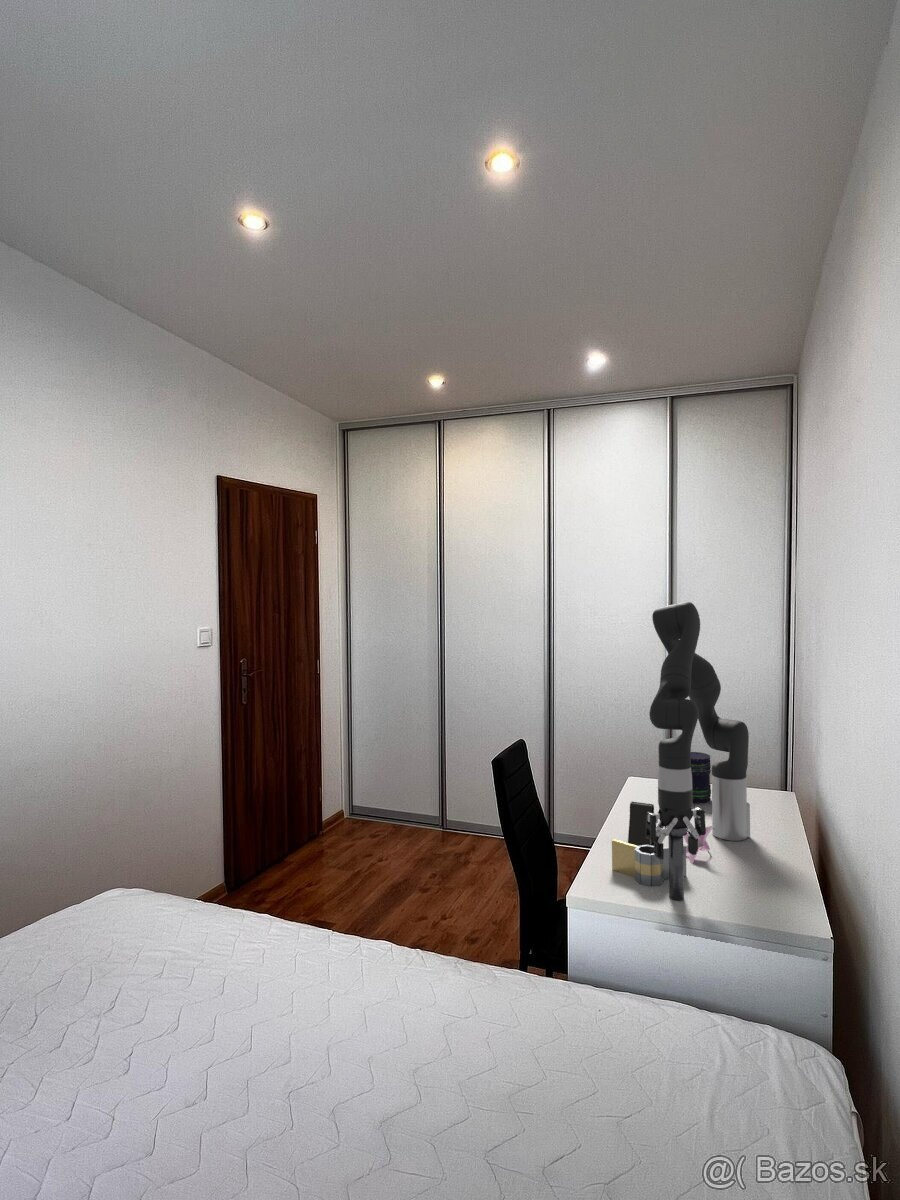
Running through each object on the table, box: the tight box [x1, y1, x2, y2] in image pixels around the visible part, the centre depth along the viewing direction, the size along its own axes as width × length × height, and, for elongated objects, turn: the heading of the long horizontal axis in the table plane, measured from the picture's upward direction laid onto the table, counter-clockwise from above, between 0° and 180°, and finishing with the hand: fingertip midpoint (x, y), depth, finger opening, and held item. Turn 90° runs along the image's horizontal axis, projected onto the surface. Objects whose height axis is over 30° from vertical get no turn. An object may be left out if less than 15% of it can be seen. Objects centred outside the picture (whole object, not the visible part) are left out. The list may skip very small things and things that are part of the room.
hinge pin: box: [668, 827, 687, 902], centre depth 155 cm, size 5×5×16 cm
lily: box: [683, 825, 713, 864], centre depth 178 cm, size 11×11×9 cm
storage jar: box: [691, 751, 712, 805], centre depth 227 cm, size 10×10×15 cm
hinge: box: [611, 838, 687, 887], centre depth 168 cm, size 15×12×8 cm
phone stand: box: [627, 801, 655, 846], centre depth 186 cm, size 9×6×12 cm, turn 150°
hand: (675, 855), depth 155 cm, fingers open, 8 cm apart
